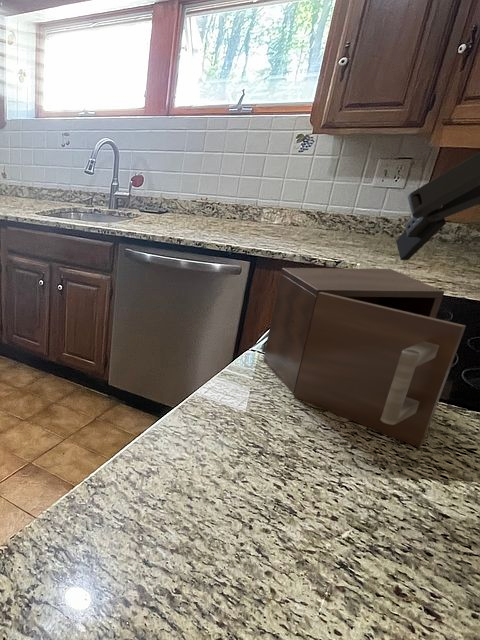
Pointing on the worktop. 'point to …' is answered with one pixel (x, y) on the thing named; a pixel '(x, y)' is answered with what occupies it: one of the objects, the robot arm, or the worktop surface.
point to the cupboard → (356, 284)
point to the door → (377, 365)
